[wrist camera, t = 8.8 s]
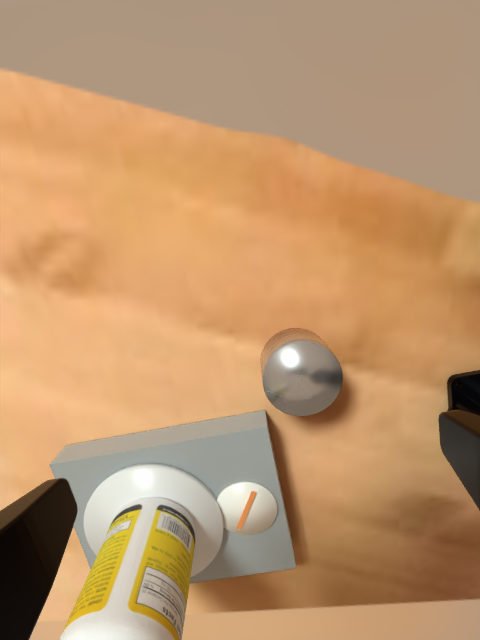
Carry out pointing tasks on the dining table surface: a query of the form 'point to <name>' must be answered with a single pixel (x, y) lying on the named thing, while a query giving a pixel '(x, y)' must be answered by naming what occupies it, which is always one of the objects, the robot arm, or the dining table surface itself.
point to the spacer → (300, 372)
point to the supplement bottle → (138, 576)
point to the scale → (189, 490)
